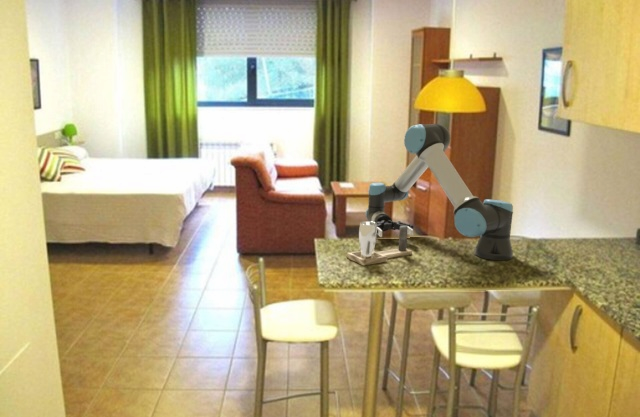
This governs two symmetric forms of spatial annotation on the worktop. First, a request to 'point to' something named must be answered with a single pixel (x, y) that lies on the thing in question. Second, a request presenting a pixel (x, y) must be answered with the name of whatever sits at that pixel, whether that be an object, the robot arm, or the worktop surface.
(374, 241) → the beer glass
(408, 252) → the wooden peg stand
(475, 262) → the worktop surface
